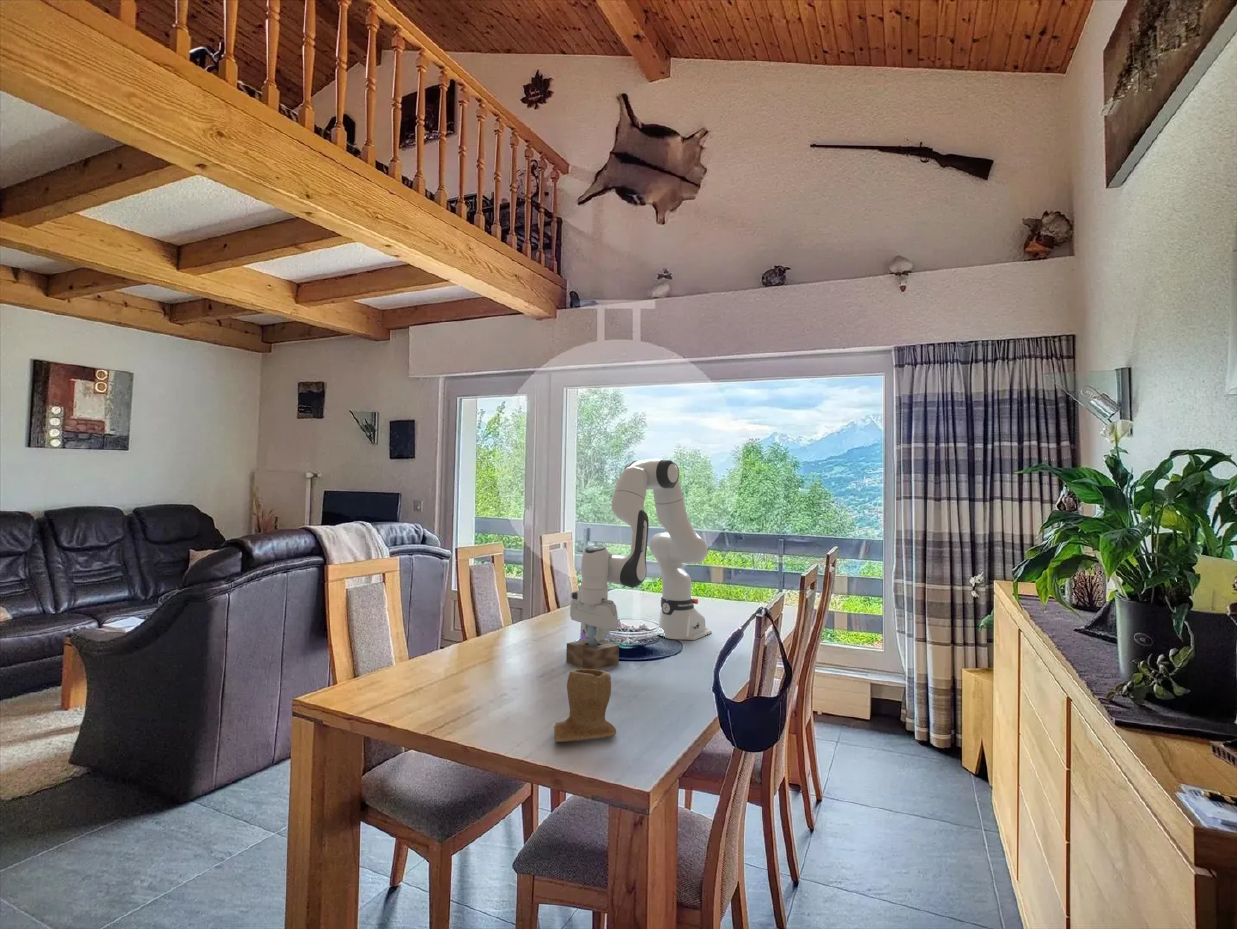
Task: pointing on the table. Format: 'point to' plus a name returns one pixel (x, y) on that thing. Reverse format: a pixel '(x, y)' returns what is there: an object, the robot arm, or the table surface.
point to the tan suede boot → (586, 707)
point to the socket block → (592, 654)
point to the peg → (592, 636)
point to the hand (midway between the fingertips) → (593, 639)
